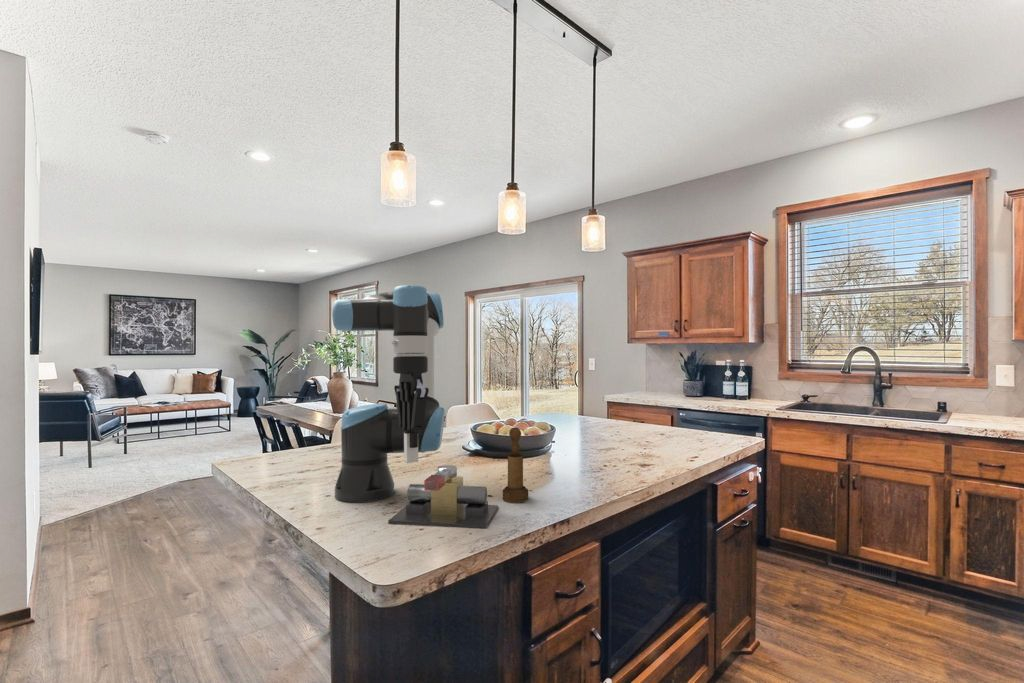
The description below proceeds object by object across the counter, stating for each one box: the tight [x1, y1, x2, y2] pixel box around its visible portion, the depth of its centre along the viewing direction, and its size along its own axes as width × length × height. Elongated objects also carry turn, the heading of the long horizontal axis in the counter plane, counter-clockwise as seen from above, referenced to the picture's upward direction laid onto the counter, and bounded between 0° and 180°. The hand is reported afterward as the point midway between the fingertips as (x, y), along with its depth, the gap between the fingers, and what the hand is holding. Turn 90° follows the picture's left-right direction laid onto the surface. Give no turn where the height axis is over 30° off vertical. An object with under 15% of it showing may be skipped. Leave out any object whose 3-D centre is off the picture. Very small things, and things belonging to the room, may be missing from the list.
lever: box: [423, 464, 458, 491], centre depth 114 cm, size 14×4×2 cm, turn 171°
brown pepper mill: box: [502, 427, 529, 504], centre depth 129 cm, size 7×6×18 cm
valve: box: [387, 475, 499, 529], centre depth 117 cm, size 22×14×8 cm, turn 81°
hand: (411, 461), depth 113 cm, fingers closed
